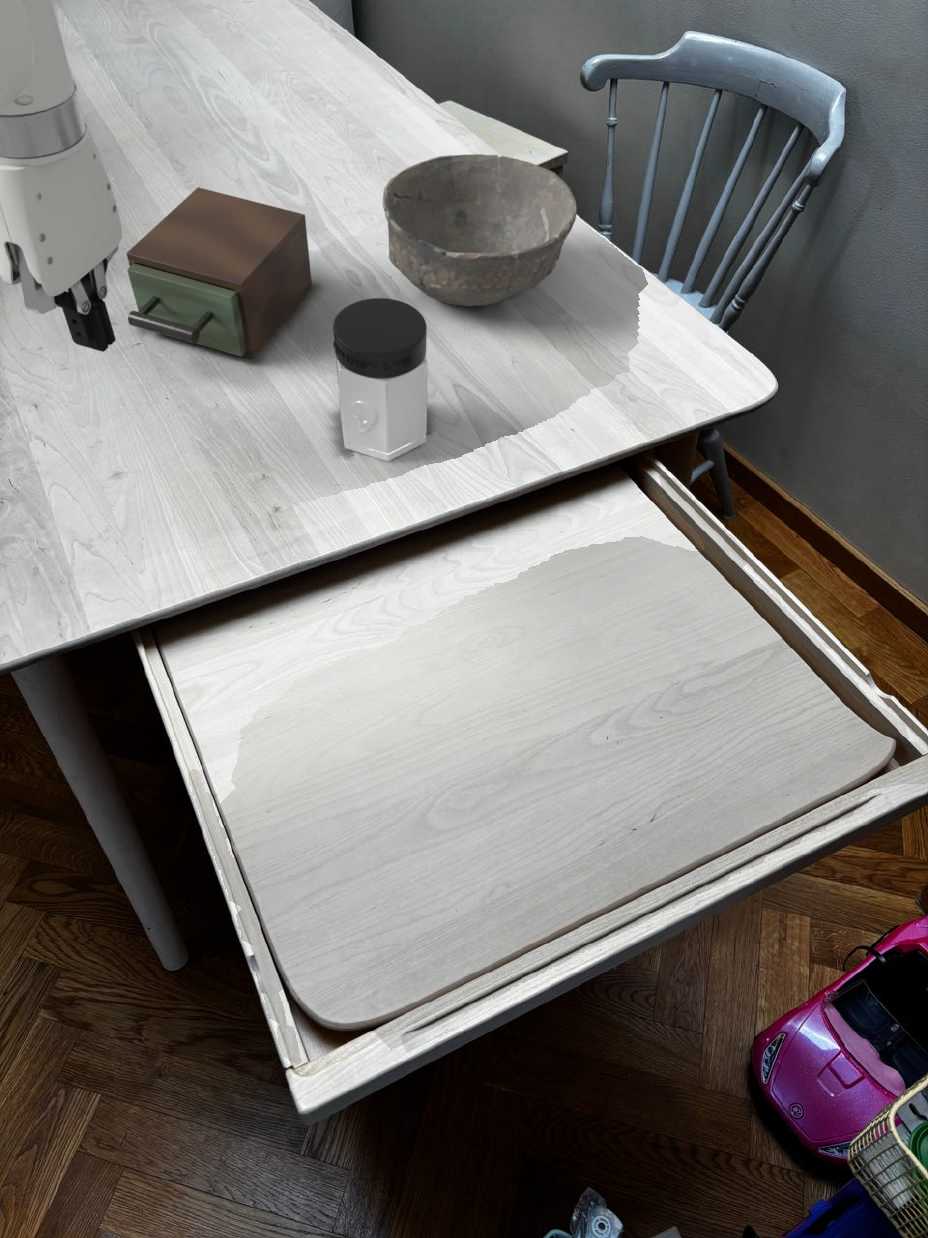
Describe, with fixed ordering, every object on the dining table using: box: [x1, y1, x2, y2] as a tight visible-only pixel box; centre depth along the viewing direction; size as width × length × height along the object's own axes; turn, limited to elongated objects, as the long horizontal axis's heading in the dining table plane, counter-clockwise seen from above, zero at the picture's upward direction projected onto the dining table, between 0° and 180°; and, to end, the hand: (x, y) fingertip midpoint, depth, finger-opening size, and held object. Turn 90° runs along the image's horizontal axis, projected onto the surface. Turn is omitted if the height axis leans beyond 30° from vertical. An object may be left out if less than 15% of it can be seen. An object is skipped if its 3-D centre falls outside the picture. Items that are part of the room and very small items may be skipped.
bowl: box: [381, 153, 577, 307], centre depth 99 cm, size 21×21×10 cm
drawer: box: [126, 263, 247, 357], centre depth 93 cm, size 17×11×7 cm
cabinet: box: [126, 187, 313, 359], centre depth 95 cm, size 14×13×9 cm
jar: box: [332, 297, 429, 462], centre depth 83 cm, size 9×8×12 cm
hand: (95, 342), depth 78 cm, fingers closed
